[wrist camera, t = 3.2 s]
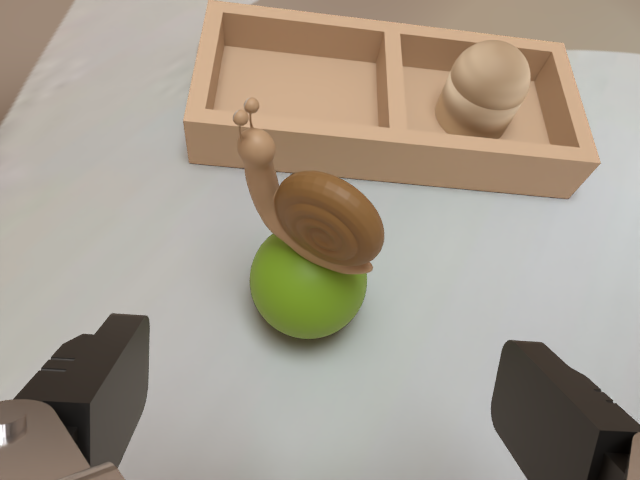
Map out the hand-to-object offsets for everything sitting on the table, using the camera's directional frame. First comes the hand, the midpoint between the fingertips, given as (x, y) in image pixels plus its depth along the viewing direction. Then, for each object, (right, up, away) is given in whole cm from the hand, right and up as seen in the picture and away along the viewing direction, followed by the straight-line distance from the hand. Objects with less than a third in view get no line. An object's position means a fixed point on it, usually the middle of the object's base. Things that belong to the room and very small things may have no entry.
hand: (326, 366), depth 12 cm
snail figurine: (-1, 0, +15) cm, 16 cm away
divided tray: (+4, +11, +22) cm, 25 cm away
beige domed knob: (+9, +11, +22) cm, 26 cm away
